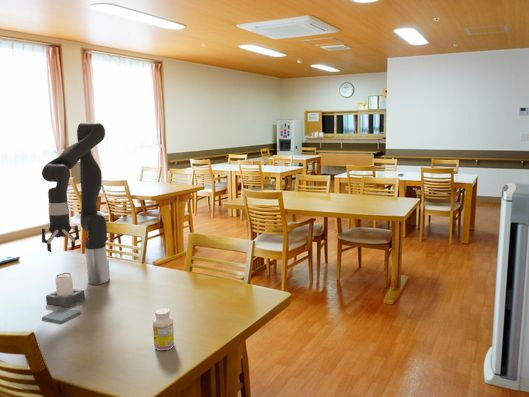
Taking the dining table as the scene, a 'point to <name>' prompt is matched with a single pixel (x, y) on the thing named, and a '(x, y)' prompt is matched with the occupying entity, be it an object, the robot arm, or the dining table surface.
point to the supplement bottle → (163, 330)
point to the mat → (61, 315)
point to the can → (64, 284)
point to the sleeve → (65, 299)
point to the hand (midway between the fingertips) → (61, 251)
